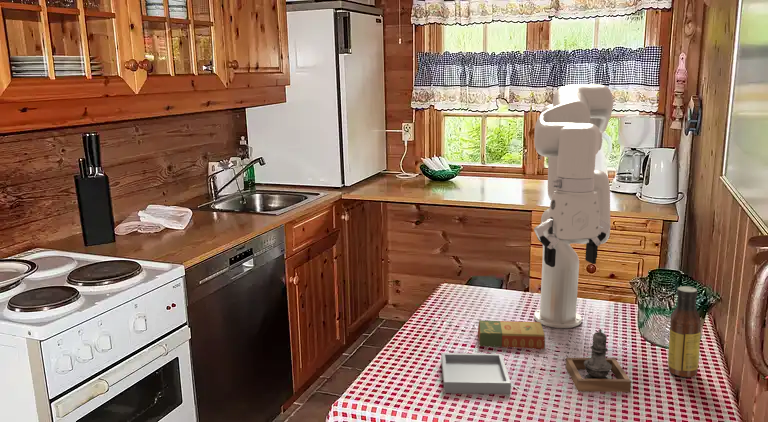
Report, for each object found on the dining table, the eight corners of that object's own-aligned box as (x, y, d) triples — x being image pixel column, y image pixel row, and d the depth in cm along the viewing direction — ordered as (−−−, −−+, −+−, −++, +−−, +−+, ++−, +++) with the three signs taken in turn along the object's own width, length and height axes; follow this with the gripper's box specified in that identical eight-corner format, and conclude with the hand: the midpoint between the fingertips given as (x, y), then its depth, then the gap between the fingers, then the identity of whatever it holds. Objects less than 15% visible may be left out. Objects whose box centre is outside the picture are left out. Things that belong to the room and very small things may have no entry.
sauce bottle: (698, 370, 142) (707, 287, 138) (696, 381, 137) (705, 295, 133) (667, 363, 145) (675, 282, 141) (663, 374, 140) (672, 290, 136)
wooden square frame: (565, 367, 144) (566, 357, 143) (614, 368, 143) (614, 358, 143) (578, 391, 133) (578, 380, 132) (630, 392, 133) (631, 381, 132)
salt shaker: (593, 387, 135) (596, 335, 132) (577, 375, 140) (580, 325, 137) (616, 383, 136) (620, 332, 134) (600, 371, 142) (603, 322, 139)
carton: (544, 350, 153) (545, 334, 153) (478, 347, 155) (479, 331, 154) (540, 336, 162) (541, 321, 161) (477, 334, 163) (478, 318, 162)
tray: (441, 362, 147) (441, 353, 146) (501, 363, 146) (501, 353, 145) (444, 392, 133) (444, 382, 132) (510, 393, 132) (510, 383, 132)
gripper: (545, 189, 126) (541, 271, 129) (622, 186, 130) (616, 265, 133) (528, 184, 133) (525, 261, 136) (601, 181, 137) (596, 256, 140)
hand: (570, 263), depth 134 cm, fingers open, 9 cm apart
